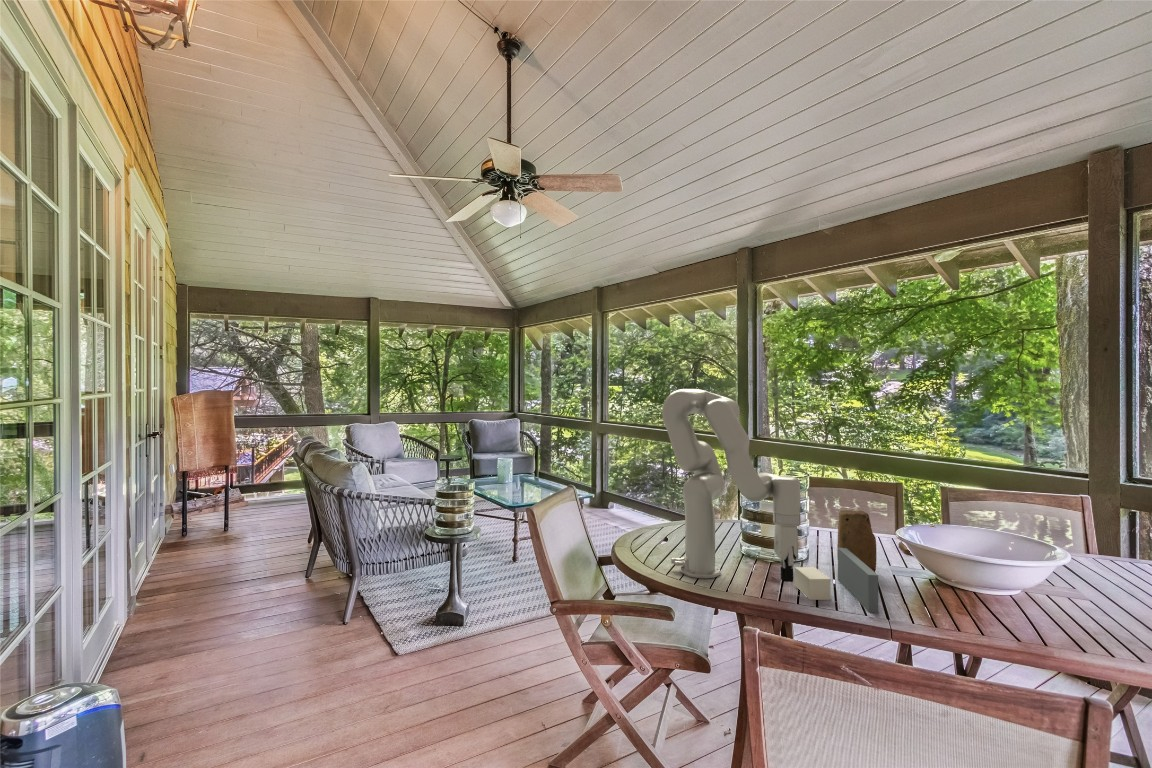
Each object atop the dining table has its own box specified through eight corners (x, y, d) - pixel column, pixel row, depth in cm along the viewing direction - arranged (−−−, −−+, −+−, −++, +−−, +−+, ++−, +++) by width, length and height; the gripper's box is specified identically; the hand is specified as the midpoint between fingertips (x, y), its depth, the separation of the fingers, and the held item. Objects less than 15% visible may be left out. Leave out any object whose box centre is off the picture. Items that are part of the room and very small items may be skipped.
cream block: (809, 600, 152) (809, 579, 152) (794, 587, 162) (794, 567, 162) (830, 600, 152) (830, 578, 152) (814, 586, 162) (814, 567, 162)
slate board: (868, 612, 144) (868, 574, 144) (837, 579, 167) (837, 547, 167) (878, 612, 143) (878, 575, 143) (846, 580, 167) (846, 548, 167)
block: (839, 575, 171) (839, 512, 171) (836, 567, 178) (836, 507, 178) (878, 579, 168) (877, 515, 168) (873, 571, 175) (873, 510, 175)
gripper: (768, 512, 166) (768, 571, 166) (779, 524, 151) (779, 589, 151) (793, 513, 165) (793, 572, 165) (807, 525, 150) (807, 591, 150)
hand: (786, 580), depth 158 cm, fingers closed
